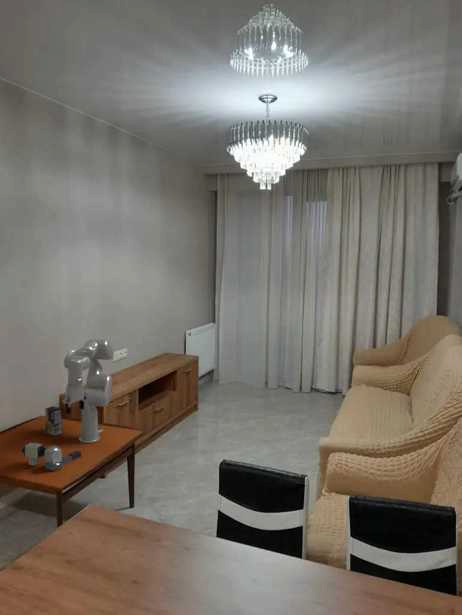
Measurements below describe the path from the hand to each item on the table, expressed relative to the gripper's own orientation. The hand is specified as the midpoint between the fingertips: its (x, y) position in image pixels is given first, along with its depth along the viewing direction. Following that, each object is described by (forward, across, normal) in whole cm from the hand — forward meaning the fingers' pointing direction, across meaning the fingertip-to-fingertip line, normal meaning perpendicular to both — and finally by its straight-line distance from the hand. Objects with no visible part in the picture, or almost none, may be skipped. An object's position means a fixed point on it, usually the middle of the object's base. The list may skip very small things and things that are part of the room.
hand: (75, 411), depth 259 cm
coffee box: (+28, -20, -40) cm, 53 cm away
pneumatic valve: (+28, +16, -14) cm, 35 cm away
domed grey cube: (+25, +13, -2) cm, 28 cm away
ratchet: (+28, +6, -2) cm, 29 cm away
